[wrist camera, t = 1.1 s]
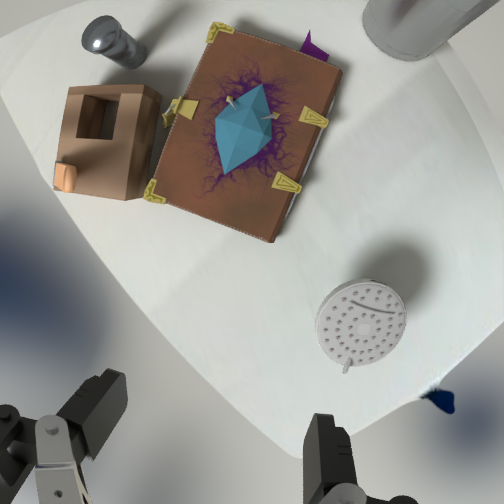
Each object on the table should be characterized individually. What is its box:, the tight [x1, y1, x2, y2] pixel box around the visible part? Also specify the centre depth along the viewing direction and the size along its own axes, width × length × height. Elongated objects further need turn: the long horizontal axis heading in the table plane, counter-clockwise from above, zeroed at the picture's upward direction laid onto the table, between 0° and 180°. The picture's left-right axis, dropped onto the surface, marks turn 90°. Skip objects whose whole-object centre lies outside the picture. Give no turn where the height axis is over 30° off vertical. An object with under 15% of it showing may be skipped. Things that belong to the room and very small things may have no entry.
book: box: [143, 22, 343, 243], centre depth 30 cm, size 16×25×5 cm, turn 158°
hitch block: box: [54, 84, 162, 201], centre depth 31 cm, size 12×10×5 cm
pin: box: [82, 15, 147, 70], centre depth 27 cm, size 4×4×9 cm
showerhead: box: [315, 278, 406, 374], centre depth 32 cm, size 9×7×10 cm
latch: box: [53, 161, 77, 193], centre depth 27 cm, size 3×9×1 cm
